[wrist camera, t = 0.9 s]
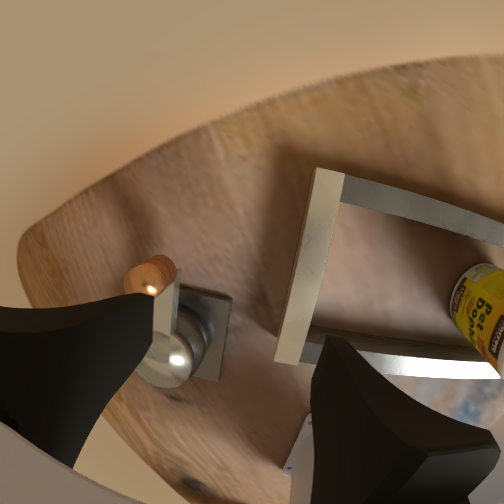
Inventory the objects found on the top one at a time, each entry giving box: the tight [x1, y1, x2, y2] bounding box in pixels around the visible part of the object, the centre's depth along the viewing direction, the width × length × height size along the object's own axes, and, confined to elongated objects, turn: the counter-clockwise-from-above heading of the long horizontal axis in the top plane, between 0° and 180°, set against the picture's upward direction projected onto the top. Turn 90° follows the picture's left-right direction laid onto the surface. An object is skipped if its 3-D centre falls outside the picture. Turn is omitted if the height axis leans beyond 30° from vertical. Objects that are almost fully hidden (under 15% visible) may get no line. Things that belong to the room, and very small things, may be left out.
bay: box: [274, 167, 504, 379], centre depth 17 cm, size 12×20×3 cm, turn 80°
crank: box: [123, 255, 195, 388], centre depth 16 cm, size 9×4×4 cm, turn 170°
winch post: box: [176, 287, 232, 383], centre depth 20 cm, size 7×7×3 cm
